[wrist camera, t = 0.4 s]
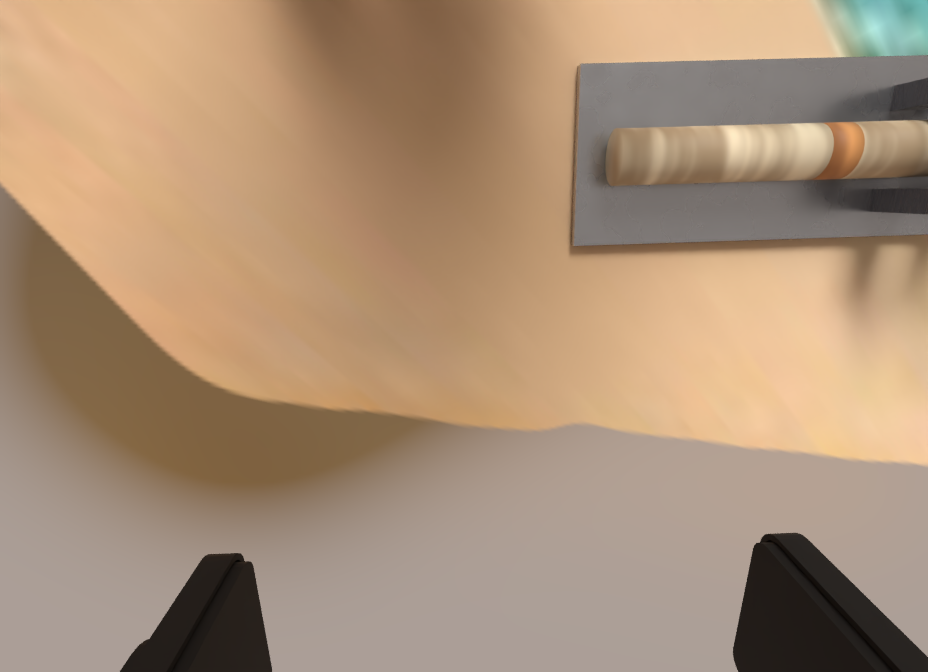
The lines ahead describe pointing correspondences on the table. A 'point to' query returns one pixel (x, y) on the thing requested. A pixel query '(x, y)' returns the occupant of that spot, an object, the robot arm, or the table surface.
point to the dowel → (767, 152)
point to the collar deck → (744, 103)
